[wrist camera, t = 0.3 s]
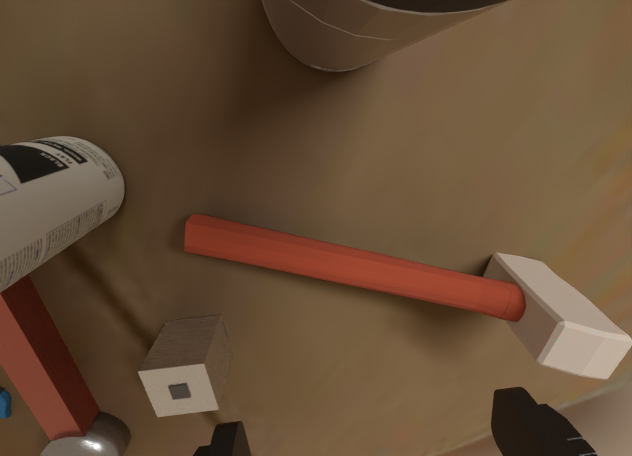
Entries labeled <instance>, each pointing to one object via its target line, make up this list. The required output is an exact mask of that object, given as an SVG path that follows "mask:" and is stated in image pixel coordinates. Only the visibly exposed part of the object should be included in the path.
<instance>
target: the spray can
mask: <svg viewBox="0 0 632 456" xmlns="http://www.w3.org/2000/svg"><path fill="white" fill-rule="evenodd" d="M124 193H125V186H124V178H123V176H122V174H121V172H120V170H119V168H118V166H117V165H116V163H115V162H114V161H113V160H112V159H111V157H110V156H109V155H108V154H107V153H106V152H105V151H104V150H102V149H101V148H100V147H98V146H96V145H95V144H93V143H91V142H89V141H86V140H83V139H79V138H75V137H68V136H56V137H49V138H43V139H37V140H32V141H27V142H21V143H16V144H10V145H4V146H0V292H2V291H4V290H5V289H7V288H8V287H9V286H11V285H12V284H14V283H15V282H17V281H18V280H19V279H21V278H22V277H24V276H25V275H27V274H28V273H30V272H31V271H33V270H34V269H36V268H37V267H39V266H40V265H42V264H43V263H44V262H46V261H47V260H49V259H50V258H52V257H53V256H55V255H56V254H58V253H59V252H61V251H62V250H64V249H65V248H67V247H68V246H69V245H71V244H72V243H74V242H75V241H77V240H78V239H80V238H81V237H83V236H84V235H86V234H87V233H88V232H90V231H91V230H93V229H94V228H96V227H97V226H99V225H100V224H102V223H103V222H105V221H106V220H108V219H109V218H110V217H112V216H113V215H114V214H115V213H116V212H117V210H118V209H119V207H120V205H121V203H122V201H123V198H124Z"/></svg>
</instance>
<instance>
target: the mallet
mask: <svg viewBox="0 0 632 456" xmlns="http://www.w3.org/2000/svg"><path fill="white" fill-rule="evenodd" d="M184 252H189V253H194V254H200V255H205V256H210V257H216V258H221V259H226V260H232V261H237V262H242V263H246V264H251V265H256V266H260V267H265V268H270V269H275V270H279V271H284V272H289V273H293V274H298V275H303V276H307V277H312V278H317V279H321V280H326V281H331V282H336V283H340V284H345V285H350V286H355V287H360V288H365V289H370V290H375V291H380V292H385V293H390V294H395V295H400V296H405V297H410V298H415V299H420V300H425V301H429V302H434V303H439V304H443V305H448V306H452V307H457V308H462V309H466V310H471V311H474V312H478V313H482V314H485V315H489V316H493V317H496V318H499V319H503V320H505V321H506V322H507V324H508V325H509V327H510V328H511V329H512V331H513V332H514V333H515V335H516V336H517V337H518V339H519V340H520V341H521V343H522V344H523V345H524V346H525V348H526V349H527V350H528V351H529V353H530V354H531V355H532V356H533V358H534V359H535V360H536V362H537V363H538V364H539V365H543V366H546V367H549V368H553V369H556V370H559V371H563V372H566V373H570V374H573V375H576V376H583V377H589V378H595V379H608V378H609V376H610V375H611V374H612V372H613V371H614V369H615V368H616V367H617V365H618V364H619V362H620V361H621V360H622V358H623V357H624V356H625V354H626V353H627V351H628V350H629V349H630V347H631V346H632V339H631V338H630V337H629V335H627V334H626V333H625V332H623V331H622V330H621V329H620V328H618V327H617V326H616V325H615V324H613V323H612V322H611V321H610V320H609V319H608V318H607V317H606V316H605V315H604V314H603V313H602V312H601V311H600V310H599V309H598V308H597V307H596V306H594V305H593V304H592V303H591V302H590V301H589V300H588V299H587V298H586V297H584V296H583V295H582V294H581V293H579V292H578V291H577V290H576V289H575V288H573V287H572V286H571V285H569V284H568V283H566V282H565V281H564V280H562V279H561V278H560V277H558V276H557V275H556V274H555V273H554V272H552V271H551V270H550V269H549V268H548V267H547V266H546V265H545V264H544V263H543V262H541V261H537V260H533V259H529V258H525V257H520V256H514V255H508V254H502V253H495V254H493V255H492V257H491V260H490V262H489V264H488V266H487V268H486V271H485V273H484V275H483V277H479V276H474V275H470V274H465V273H461V272H456V271H452V270H447V269H443V268H439V267H434V266H430V265H426V264H421V263H417V262H413V261H409V260H405V259H400V258H396V257H392V256H388V255H384V254H379V253H374V252H370V251H365V250H360V249H356V248H351V247H346V246H342V245H337V244H332V243H328V242H324V241H319V240H315V239H310V238H306V237H301V236H297V235H292V234H287V233H283V232H278V231H273V230H269V229H264V228H259V227H254V226H250V225H245V224H241V223H237V222H232V221H228V220H224V219H220V218H216V217H211V216H207V215H203V214H199V213H198V214H192V215H191V216H190V218H189V219H188V220H187V222H186V227H185V245H184Z"/></svg>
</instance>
